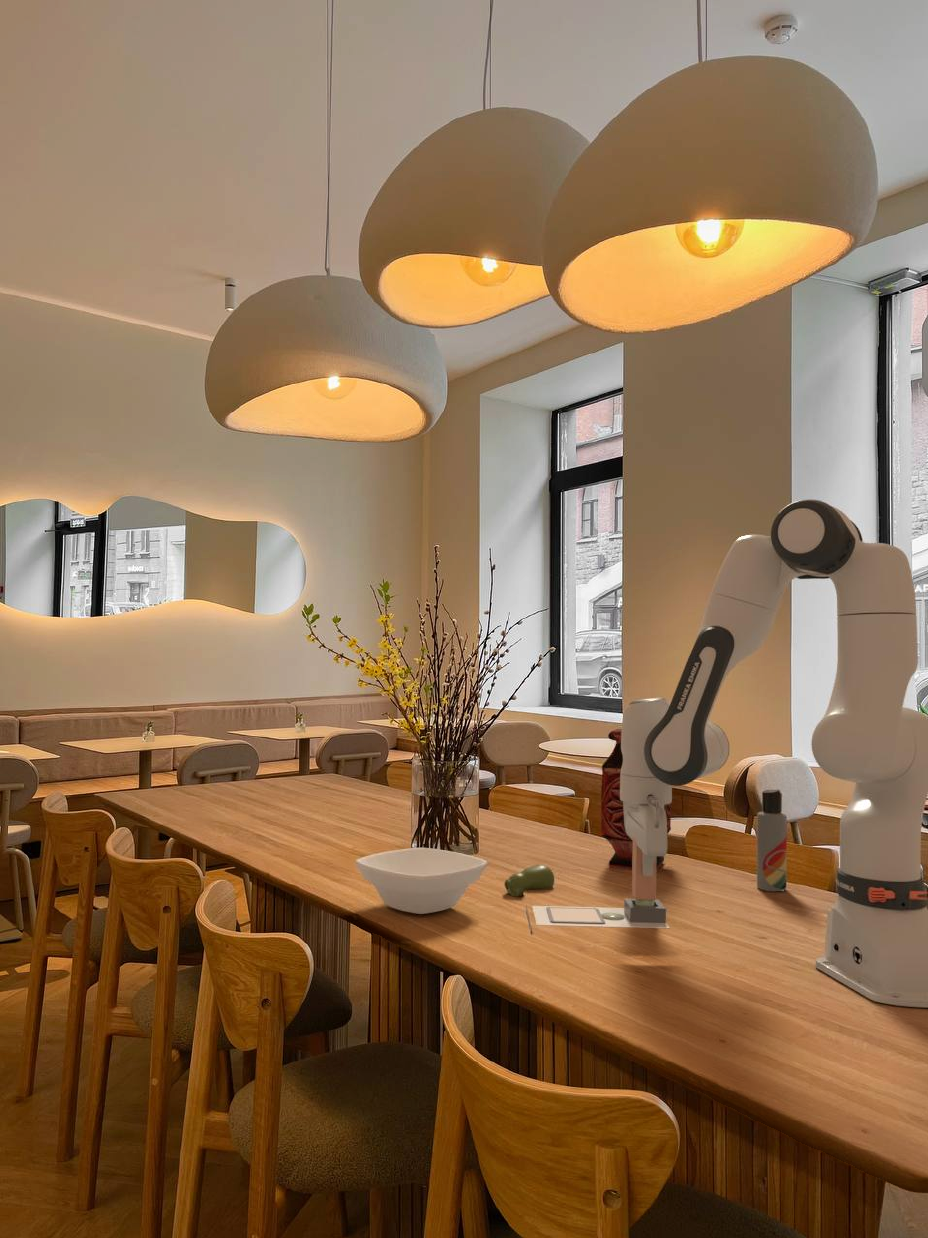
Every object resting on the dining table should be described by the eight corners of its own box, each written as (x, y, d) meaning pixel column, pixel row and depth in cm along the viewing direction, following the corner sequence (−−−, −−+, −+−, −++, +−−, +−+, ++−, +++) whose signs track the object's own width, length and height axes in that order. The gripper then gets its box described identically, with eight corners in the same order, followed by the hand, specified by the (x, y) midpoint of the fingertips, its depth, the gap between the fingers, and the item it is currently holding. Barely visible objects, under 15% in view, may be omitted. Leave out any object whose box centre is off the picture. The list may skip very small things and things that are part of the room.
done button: (655, 913, 156) (656, 899, 156) (637, 913, 156) (637, 899, 156) (652, 908, 159) (652, 894, 159) (633, 908, 159) (633, 894, 159)
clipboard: (676, 937, 150) (676, 928, 150) (531, 933, 150) (531, 925, 150) (659, 914, 164) (659, 906, 164) (525, 910, 164) (526, 902, 164)
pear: (557, 865, 176) (510, 877, 173) (560, 892, 177) (513, 905, 173) (544, 859, 182) (498, 870, 178) (548, 885, 182) (502, 897, 178)
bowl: (501, 909, 165) (502, 861, 166) (421, 932, 150) (422, 879, 150) (420, 888, 179) (421, 844, 179) (339, 908, 164) (340, 859, 164)
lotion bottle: (788, 893, 181) (788, 792, 182) (758, 891, 183) (759, 790, 184) (784, 886, 187) (784, 788, 188) (755, 884, 188) (755, 787, 189)
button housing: (665, 922, 154) (665, 908, 154) (630, 921, 154) (630, 907, 154) (658, 913, 160) (658, 899, 160) (624, 912, 160) (624, 898, 160)
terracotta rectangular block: (655, 899, 156) (656, 831, 156) (635, 899, 156) (636, 831, 156) (651, 894, 159) (652, 828, 160) (631, 894, 159) (632, 827, 160)
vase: (599, 868, 200) (601, 731, 201) (610, 856, 213) (612, 727, 214) (664, 874, 195) (665, 734, 197) (671, 862, 208) (672, 730, 210)
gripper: (677, 800, 148) (676, 887, 147) (652, 783, 168) (651, 859, 168) (638, 799, 148) (637, 886, 147) (618, 782, 168) (616, 858, 168)
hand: (644, 871), depth 158 cm, fingers closed on terracotta rectangular block, 3 cm apart
